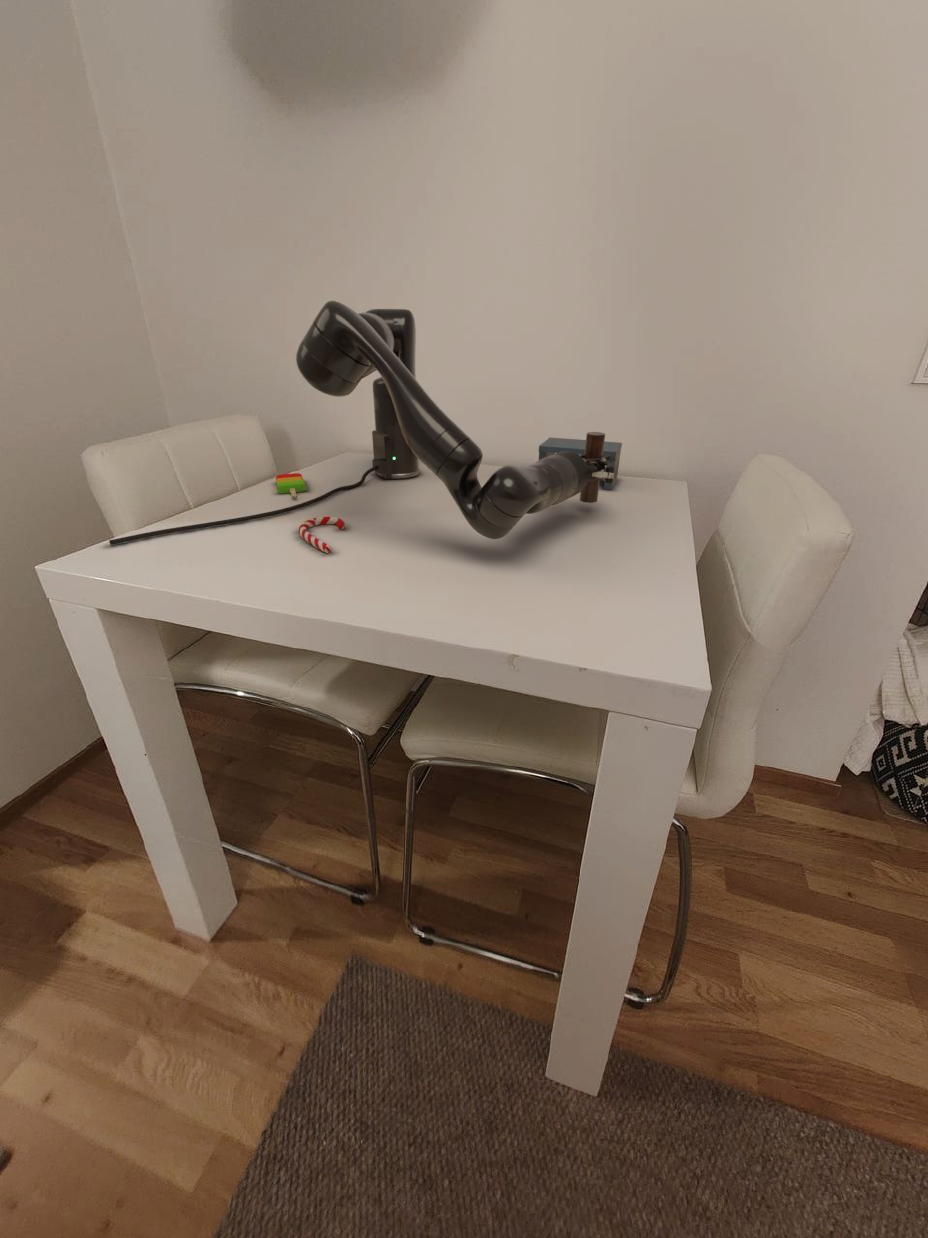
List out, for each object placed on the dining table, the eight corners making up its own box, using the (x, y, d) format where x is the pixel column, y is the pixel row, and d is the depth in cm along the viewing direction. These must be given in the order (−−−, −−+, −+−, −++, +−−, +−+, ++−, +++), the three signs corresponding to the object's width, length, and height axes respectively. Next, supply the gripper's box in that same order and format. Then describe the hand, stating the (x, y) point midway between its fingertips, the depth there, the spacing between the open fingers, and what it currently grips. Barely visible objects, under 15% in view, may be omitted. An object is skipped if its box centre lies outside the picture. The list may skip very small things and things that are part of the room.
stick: (588, 503, 103) (596, 435, 98) (576, 499, 106) (582, 432, 100) (600, 501, 105) (609, 433, 99) (588, 496, 107) (595, 431, 102)
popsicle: (302, 480, 125) (301, 472, 124) (309, 499, 112) (308, 490, 111) (276, 483, 123) (275, 474, 122) (280, 502, 111) (278, 492, 110)
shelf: (610, 490, 119) (615, 451, 115) (536, 483, 124) (538, 445, 120) (617, 479, 127) (622, 442, 123) (547, 472, 132) (549, 437, 128)
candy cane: (305, 548, 85) (295, 518, 98) (306, 556, 86) (296, 525, 98) (356, 542, 88) (340, 513, 100) (357, 550, 88) (341, 521, 101)
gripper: (517, 494, 97) (563, 473, 109) (593, 509, 90) (633, 485, 102) (519, 449, 94) (566, 433, 106) (599, 461, 86) (640, 442, 99)
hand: (599, 459), depth 104 cm, fingers closed on stick, 3 cm apart
